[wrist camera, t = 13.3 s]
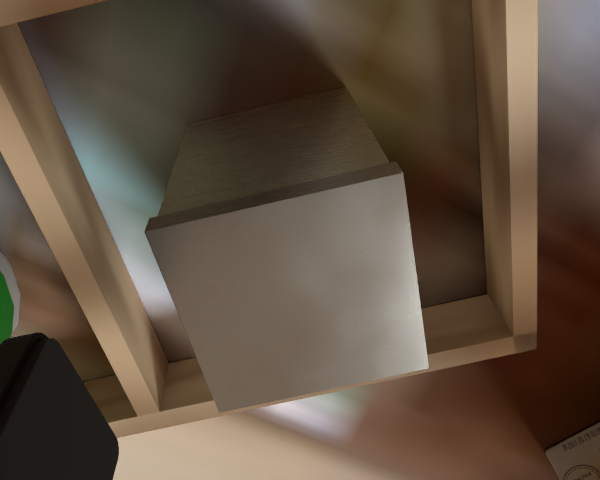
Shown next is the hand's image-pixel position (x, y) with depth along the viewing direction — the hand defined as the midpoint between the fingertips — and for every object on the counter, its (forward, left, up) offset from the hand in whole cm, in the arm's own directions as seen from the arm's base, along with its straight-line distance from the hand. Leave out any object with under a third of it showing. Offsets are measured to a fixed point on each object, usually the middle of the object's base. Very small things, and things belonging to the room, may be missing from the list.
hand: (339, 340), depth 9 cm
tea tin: (+1, -1, -10) cm, 10 cm away
